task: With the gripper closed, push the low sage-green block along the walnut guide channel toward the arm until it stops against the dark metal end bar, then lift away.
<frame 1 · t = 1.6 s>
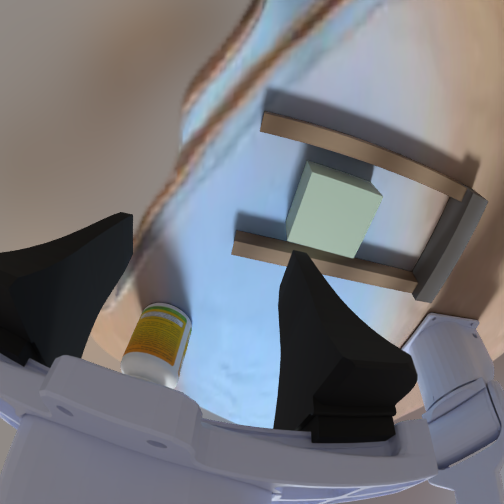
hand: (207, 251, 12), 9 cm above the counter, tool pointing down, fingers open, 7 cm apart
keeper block: (327, 200, 21), resting in guide channel
guide channel: (364, 212, 21), on the counter
supplement bottle: (167, 319, 29), on the counter
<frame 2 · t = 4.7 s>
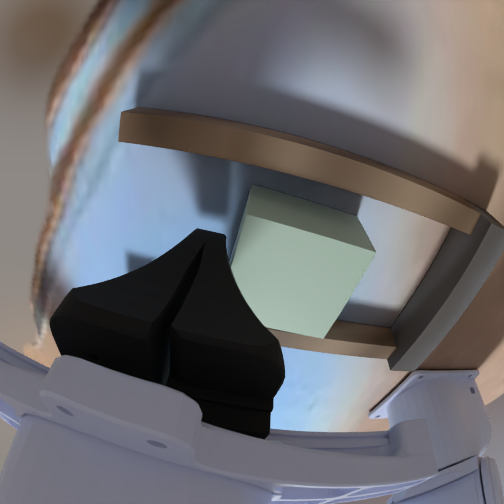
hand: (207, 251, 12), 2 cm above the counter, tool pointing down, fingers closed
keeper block: (288, 246, 14), resting in guide channel, touching gripper
guide channel: (311, 253, 14), on the counter
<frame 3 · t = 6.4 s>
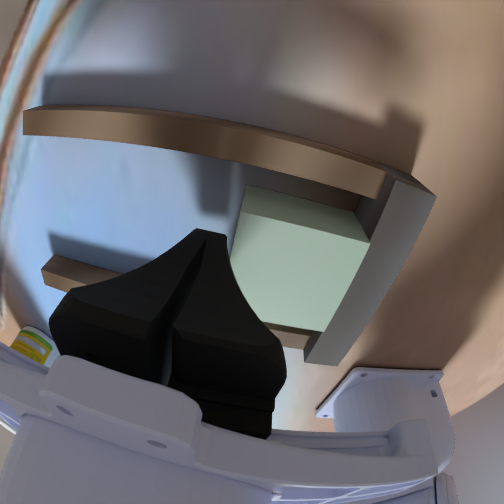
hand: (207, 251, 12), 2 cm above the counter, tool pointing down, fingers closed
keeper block: (286, 242, 14), resting in guide channel
guide channel: (193, 227, 14), on the counter
supplement bottle: (44, 342, 21), on the counter
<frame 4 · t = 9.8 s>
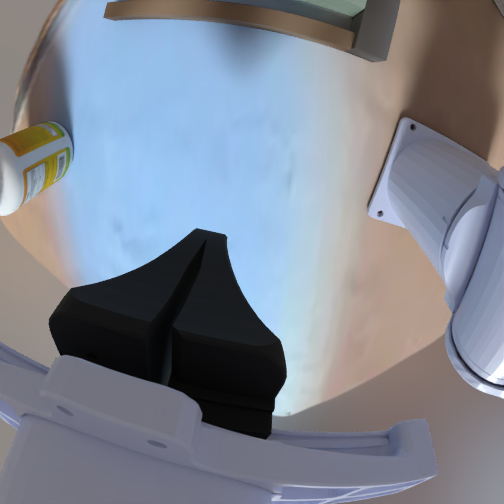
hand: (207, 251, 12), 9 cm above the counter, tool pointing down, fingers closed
supplement bottle: (53, 149, 19), on the counter
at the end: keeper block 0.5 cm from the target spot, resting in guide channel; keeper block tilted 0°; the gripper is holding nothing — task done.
